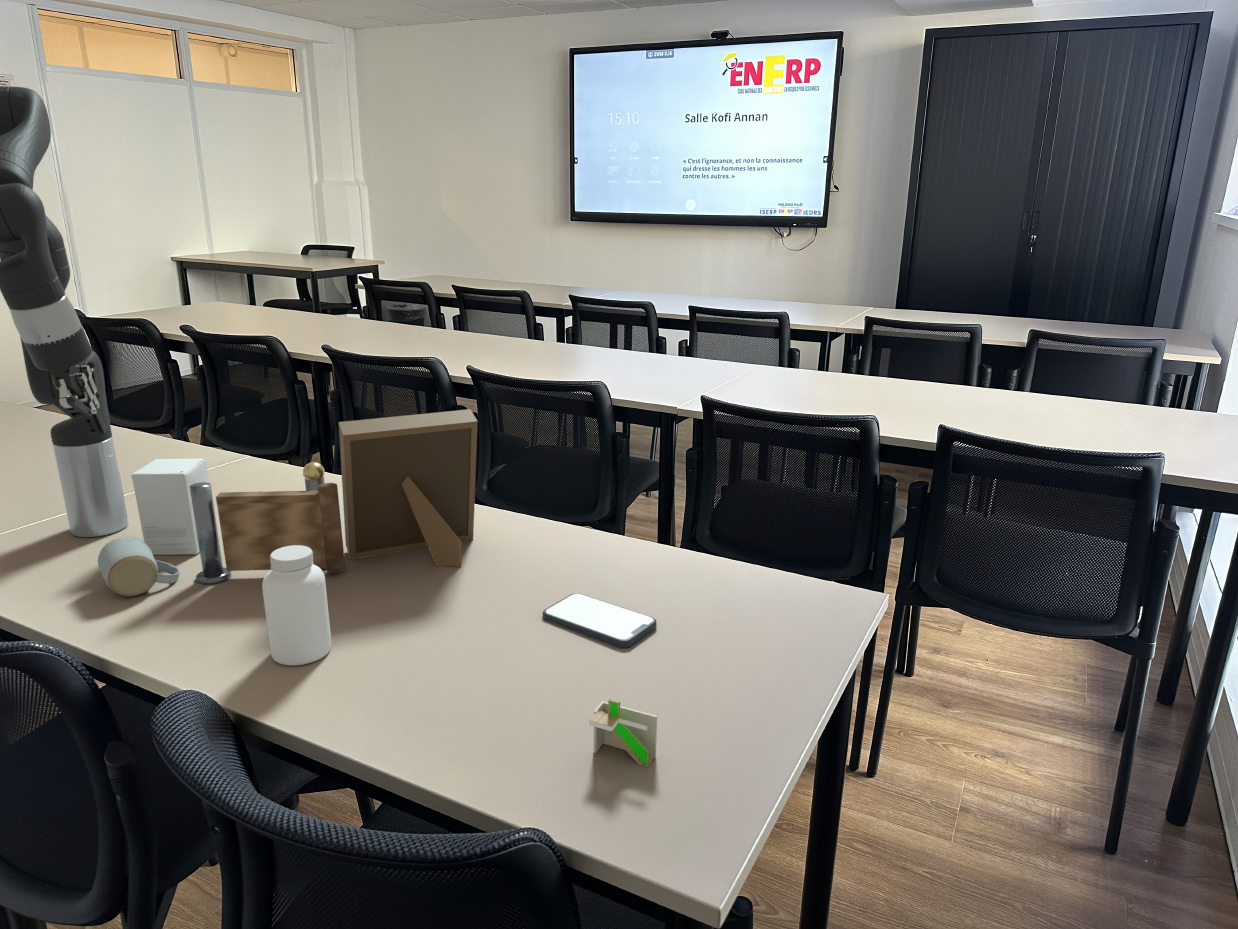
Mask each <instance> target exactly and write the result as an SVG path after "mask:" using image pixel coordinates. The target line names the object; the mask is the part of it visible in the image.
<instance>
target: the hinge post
mask: <svg viewBox="0 0 1238 929" xmlns="http://www.w3.org/2000/svg"><path fill="white" fill-rule="evenodd" d="M190 493H191V499H192V505H193V512H194V518H195V525H196V531H197V537H198V544H199V550H200V552H199V556H200V562H201V568H202V571H200V572H199V573H197V574H196V576H195V579H196V580H195V581H196V582H197V583H198V584H200V585H209V584H210V585H217V584H221V583H223V582H226V581H228V580H229V579H231V577H232V571H227V568H226V567H224V565H223V559H222V552H221V545H220V540H219V533H218V526H217V520H216V519H217V518H216V512H215V506H214V497H213V491H212V484H211V483H210V482H209V483H207V482H201V483H195V484H192V485H191V486H190Z"/></svg>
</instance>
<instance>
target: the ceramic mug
mask: <svg viewBox="0 0 1238 929" xmlns="http://www.w3.org/2000/svg"><path fill="white" fill-rule="evenodd" d="M97 566H98V569H99V571H100V573H101V575H102V577H103V579H104V581H105V583H106V585H107V586H108V588H109V589H110V590H111V591H112V592H113V593H115V594H117V595H120V596H122V597H137V596H140V595H142V594H145V593H146V592H148V591H150V590H151V589H152V588H153V586H154V585H155V583H158V584H173V583H176V582H177V581H178V580H179V577H180V572H181V571H180V568H178V567H177V566H175V565H173V564H171V563H168V562H165V561H161V560H157V559H155V556H154V555H153V554H152V551H151V549H150V547H149V546H148V545H147V544H146V543H145V542H144V540H142V539H140V538H137V537H133V536H121V537H120V536H119V537H116V538H114V539H112V540H110V541H109V542H107V543H105V545H103V547H102V548H101V550H100V551H99V554H98V557H97ZM159 571H160V572H164V573H167V574H164V573H159Z"/></svg>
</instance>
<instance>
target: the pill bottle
mask: <svg viewBox="0 0 1238 929" xmlns="http://www.w3.org/2000/svg"><path fill="white" fill-rule="evenodd" d="M270 562H271V570H268V572H267V573H266V574H265V575H264V577H263V579H262V584H261V586H262V587H261V588H262V597H263V604H264V611H265V620H266V626H267V627H266V629H267V636H268V637H267V638H268V643H269V652H270V656H271V658H272V660H273V661H274V662H276V663H278V664H280V665H284V666H303V665H307V664H311V663H314V662H316V661H319V660H320V659H322V658H323V657H325V656H326V655H328V653H329V652H330V650H331V649H332V634H331V625H330V614H329V606H328V594H327V585H326V577H325V574H324V571H323V569H320V568H319V567H318V566H316V565H314V564H313V552H312V550H311V549H310V548H309V547H306V546H301V545H293V546H286V547H282V548H279V549H277V550H275V551H273V552H272V553H271V555H270Z"/></svg>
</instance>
